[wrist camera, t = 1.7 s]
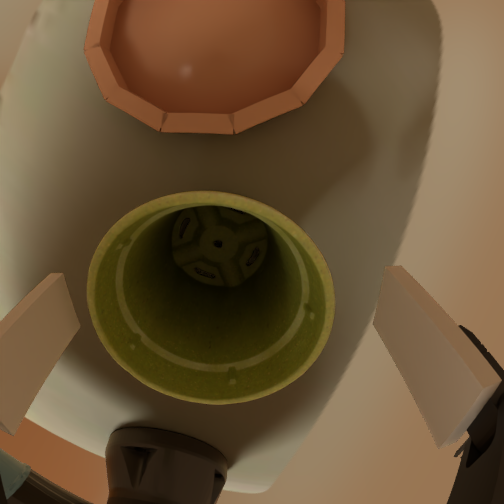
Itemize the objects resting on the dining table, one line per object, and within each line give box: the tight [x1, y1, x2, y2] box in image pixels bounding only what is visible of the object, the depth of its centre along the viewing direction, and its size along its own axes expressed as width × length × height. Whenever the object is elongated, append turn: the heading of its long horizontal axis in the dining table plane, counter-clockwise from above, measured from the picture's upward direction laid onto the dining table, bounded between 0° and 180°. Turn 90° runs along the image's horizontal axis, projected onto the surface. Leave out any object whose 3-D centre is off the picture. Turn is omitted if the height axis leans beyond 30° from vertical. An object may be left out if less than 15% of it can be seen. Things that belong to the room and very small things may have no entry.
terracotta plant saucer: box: [84, 0, 345, 135], centre depth 12 cm, size 14×14×2 cm
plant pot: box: [86, 191, 335, 405], centre depth 14 cm, size 9×9×9 cm
